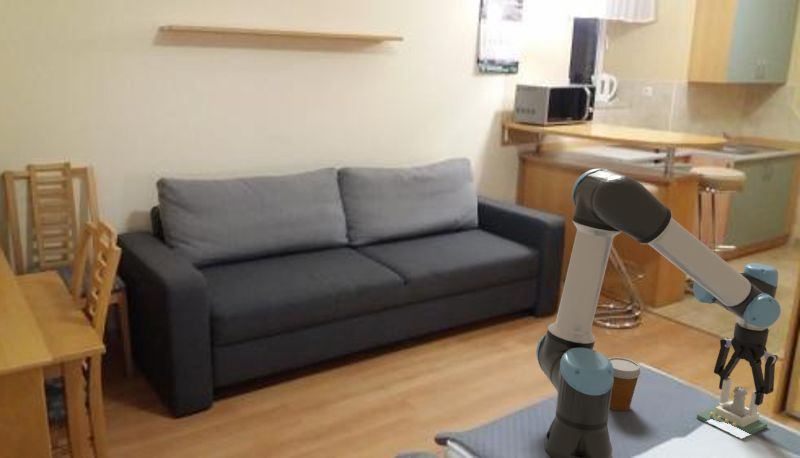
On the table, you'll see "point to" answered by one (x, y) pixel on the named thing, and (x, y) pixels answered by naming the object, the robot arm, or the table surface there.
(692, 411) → the table surface
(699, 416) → the board
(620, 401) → the disposable coffee cup
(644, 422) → the table surface
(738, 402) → the rook chess piece
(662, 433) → the table surface
